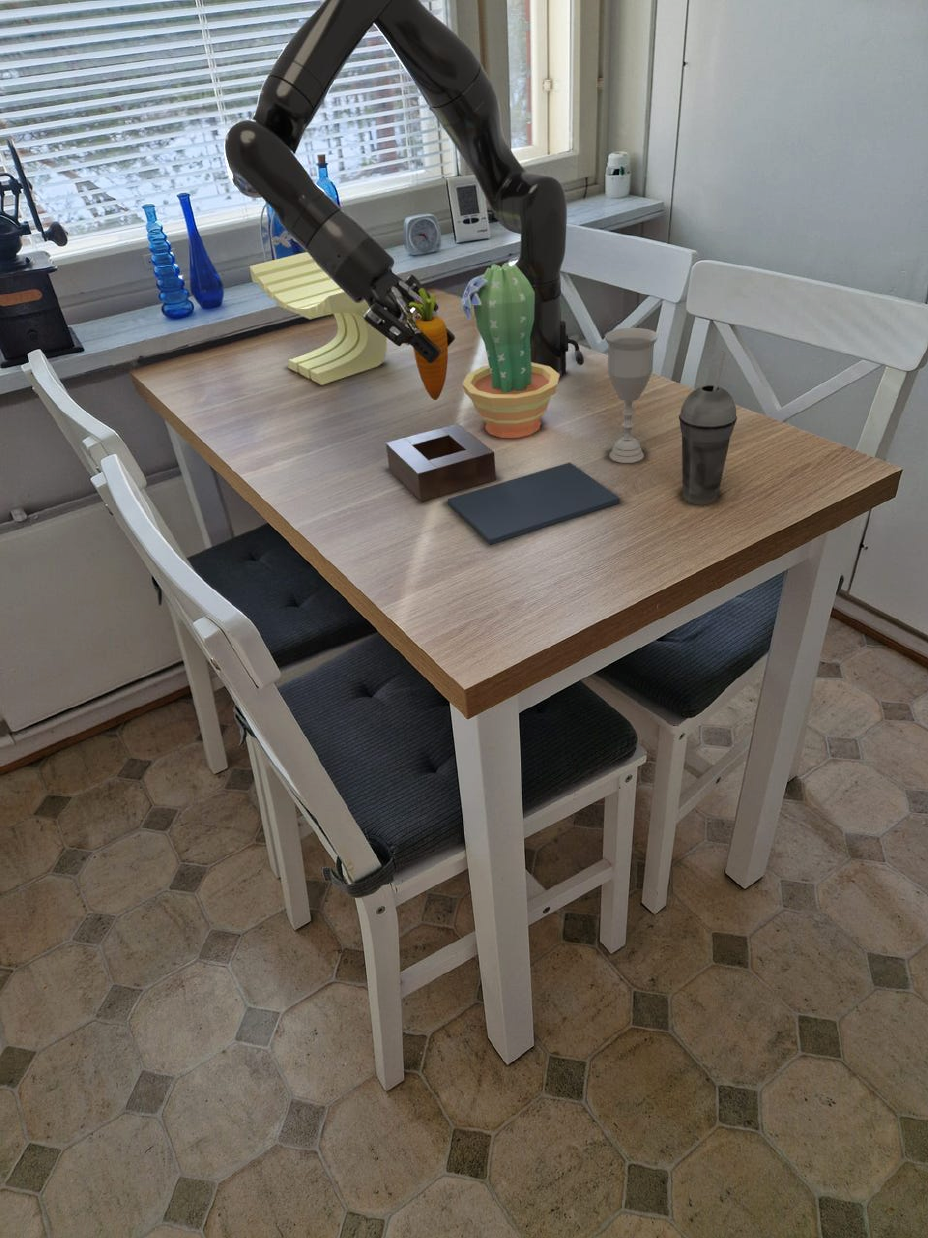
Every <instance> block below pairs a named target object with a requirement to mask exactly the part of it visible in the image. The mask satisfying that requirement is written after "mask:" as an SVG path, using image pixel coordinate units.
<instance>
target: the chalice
mask: <svg viewBox="0 0 928 1238" xmlns="http://www.w3.org/2000/svg"><path fill="white" fill-rule="evenodd" d="M658 338H659V333H657V331H655V330H652V329H648V328H643V327H622V328H617V329H613V330H609V331H608V332H606V333H605V335H604V340H605V341H606V343H607V345H608V350H607V352H608V353H607V355H608V356H607V373H608V377H609V379H610V383H611V385H612V386H613V389H614V391H615V393H616V395H617V397H618V399H619V400H621V401H623V402H624V409H623V411H622V415H623V417H624V420H623V423H621V427H622V428H623V432H624V433H623V436H621V437H620V438H618V439H617V440H616V441H615V443H613V444H614V445H613V447H612V449H611V451H610V453H609V458H610V459H611V460H612V461H614V462H617V463H622V464H630V463H631V464H632V463H636V462H639V461H641V460H643V458H644V457H645V453H644V452H643V451H642V450H643V449H642V446H641V444H640V442H639V441H638V440H637V439H636V438H635V437H633V436H632V433H631V432H632V429H633V428H634V426H635V424H634V423H633V420H632V418H633V416H634V414H635V412H634V410H633V403H634V402H635V401H637V400H639V399H640V397H641V396H642V393H643V392H644V390H645V388H646V386H647V385H648V383H649V381H650V378H651V375H652V373H653V367H654V348H655V346H654V345H655V343H656V342H657V340H658Z"/></svg>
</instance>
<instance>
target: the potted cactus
mask: <svg viewBox="0 0 928 1238" xmlns="http://www.w3.org/2000/svg"><path fill="white" fill-rule="evenodd" d="M534 303H535V292H534V291H533V289H532V287H531V285H530V283H529V281H528V280H527V278H526V277H525V276H524V275H523V273H522V272H521V271H520V270H519V268H518V267H517V266H516V265H513V266H510V265H509V263H507V262H504V263H503V264H502V265H501V266H500V265H498V264H495V263H493V264H491V266H490V267H487V268H486V270H485V272H484V273H483V274H481V275H478V276H476V277H473V278H472V279H470V280H469V282H468V283H467V285H466V286H465V290H464V292H463V295H462V299H461V307H462V311H463V314H465V315H466V318H467V319H468V321H469V322H472V321H473V316H472V311H471V309H472V308H473V315H474V321H475V326H476V328H477V330H478V333H479V335H480V337H481V339H482V341H483V344H484V347H485V352H486V357H487V361H488V365H484V366H482V367H479V368H477V369H475V370H473V371H471V372H469V373H467V374H466V376H465V378H464V380H463V381H462V384H461V386H462V388H463V391H464V393H465V395H466V396H467V397H468V398H469V399H470V400H471V402H472V404H473V407H474V410H475V412H477V413H478V415H479V416H480V417H481V418H482V420H483V421H484V422H485V424H486V425H485V431H486V432H487V433H488V434H490V435H491V436H494V437H497V438H501V439H519V438H523V437H527V436H528V437H529V436H531V435H533V434H535V433H536V432H538V431H539V430H540V428H541V425H542V422H541V420H542V418H543V416H544V415H545V413H546V412H547V409H548V408H549V407H548V406H549V404H550V400H551V397H552V396H553V395H555V394H556V391H557V388H558V384H559V380H560V377H559V376H560V374H558V373H557V372H556V371H555V370H553V369H552V368H551V367H550V366H545V365H541V364H537V363H532V362H531V352H530V334H531V330H532V326H533V322H534Z"/></svg>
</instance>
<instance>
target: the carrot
mask: <svg viewBox="0 0 928 1238" xmlns="http://www.w3.org/2000/svg"><path fill="white" fill-rule="evenodd" d="M425 290H426V289H425V288H424V289H423V288H421V289H420V290H418V291H419V293H420V296H421V298H422V301H423V303H424V306H423V304H420V303H419V304H416V303H414V302H410V303H409V306H410V307H412V308H415V309H416V310H417V311H418V312H419V313H420V314H419V313H418V314H419V316H420V317H421V316H422V317H421V318H419V319H417V320H415V321H414V322H415V324H416V325H417V326H418V328H419V329H420V333H421V332H423V333H424V334H425V335H426V336H427V337H428V338H429V339H430V340H431V341H432V342H433V343H434V344H435V345H436V346H437V347H438V348H439V349H440V351H441V354H440V355H439V356H438V357H437V358H436V359H435V361H434V362H433V363H429V362H428V361H427V360H426V359H424V358H423V357H422V355H420V354H419V353H418V352H417V351H416V350H415V349H414V348H413V347H412V348H413V355H414V360H415V362H416V363H415V364H416V367H417V370H418V374H419V376H420V379H421V381H422V384H423V386H424V388H425V390H426V391H427V393H428V395H429V396H430V398H431V399H433V400H434V401H437V400H438V399H439V398H440V396H441V393H442V391H443V389H444V385H445V382H446V379H447V372H448V371H447V370H448V360H449V351H448V349H449V346H447V329H448V328H447V325H446V323H445V321H444V320H443V318H441V317H439V316H437V317H435V316H432V315H433V311H434V306H435V303H436V295H435V294H433V293H430V294H429V295H430V299H429V298H428V296H427V294H426V291H427V290H426V291H425ZM424 307H425V308H424ZM446 328H447V329H446ZM420 333H419V334H420Z"/></svg>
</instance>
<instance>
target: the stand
mask: <svg viewBox="0 0 928 1238" xmlns="http://www.w3.org/2000/svg"><path fill="white" fill-rule="evenodd" d="M385 447H386V455H387V461H388V469H389V471H390V472H391V473H392V475H394V476H395V477H396V479H398V480H399V482H401V483H402V484H403V485H404V487H406V489H408V491H409V492H410V493H411V494H412V495H413V496H414V497H415V498H416V499H417V500H418V501H419V502H420V503H424V502H426V501H430V500H434V499H438V498H440V497H444V496H447V495H451V494H453V493H458V492H460V491H464V490H468V489H470V488H473V487H478V486H480V485H483V484H488V483H491V482H493V481H496V480H497V475H496V460H495V451H493V450H492V449H491V448H490V447H488V446H487V445H486V444H485V443H483V442H482V441H481V440H480V439H478V438H477V437H476V436H475V435H473V434H472V433H471V432H469V431H468V430H467V429H466V428H464V427H463V426H462V425H461V424H460V423H455V424H451V425H447V426H444V427H440V428H436V429H431V430H429V431H424V432H421V433H417V434H414V435H409V436H407V437H403V438H398V439H395V440H391V441H387V442H385Z"/></svg>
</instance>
